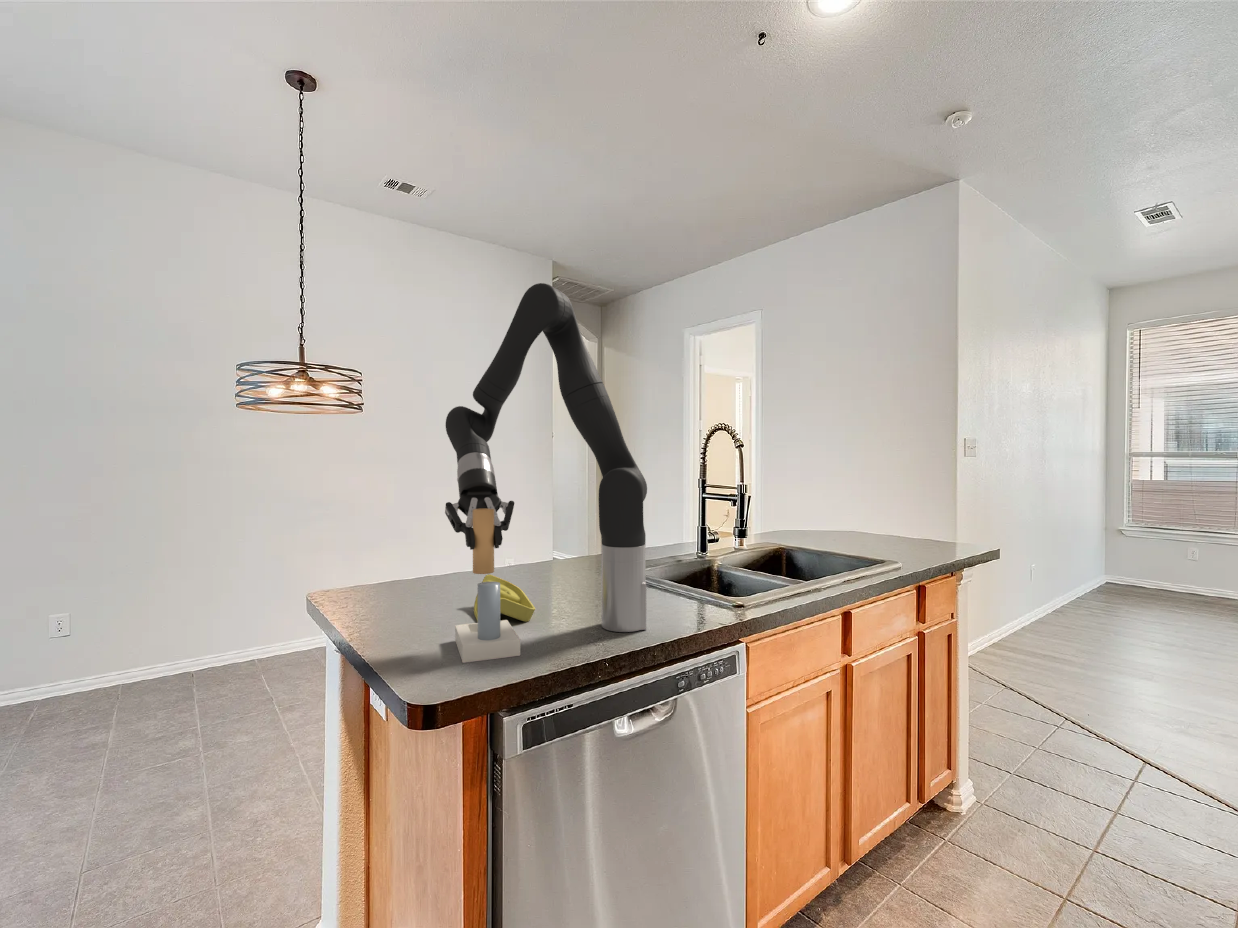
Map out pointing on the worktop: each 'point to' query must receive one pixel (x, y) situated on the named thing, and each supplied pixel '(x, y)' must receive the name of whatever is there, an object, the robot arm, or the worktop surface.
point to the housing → (487, 630)
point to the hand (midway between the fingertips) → (485, 546)
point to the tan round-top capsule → (483, 541)
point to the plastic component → (510, 600)
